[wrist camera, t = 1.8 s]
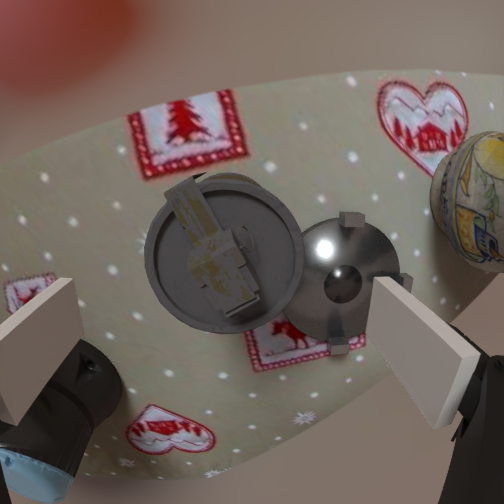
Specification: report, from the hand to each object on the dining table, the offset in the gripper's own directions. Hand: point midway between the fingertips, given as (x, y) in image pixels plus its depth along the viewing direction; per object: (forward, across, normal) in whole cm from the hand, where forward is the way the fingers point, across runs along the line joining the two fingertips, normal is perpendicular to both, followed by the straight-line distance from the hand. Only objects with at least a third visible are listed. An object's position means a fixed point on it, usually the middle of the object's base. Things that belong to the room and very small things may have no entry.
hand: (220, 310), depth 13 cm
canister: (+25, 0, 0) cm, 25 cm away
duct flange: (+25, +14, -8) cm, 29 cm away
